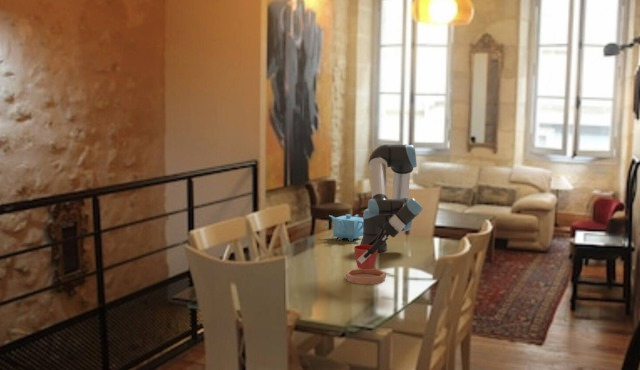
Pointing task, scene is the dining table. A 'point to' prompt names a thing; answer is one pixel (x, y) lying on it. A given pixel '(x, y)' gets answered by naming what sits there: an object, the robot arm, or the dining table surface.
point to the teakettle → (347, 227)
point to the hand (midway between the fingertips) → (359, 258)
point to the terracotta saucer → (365, 276)
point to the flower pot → (369, 262)
